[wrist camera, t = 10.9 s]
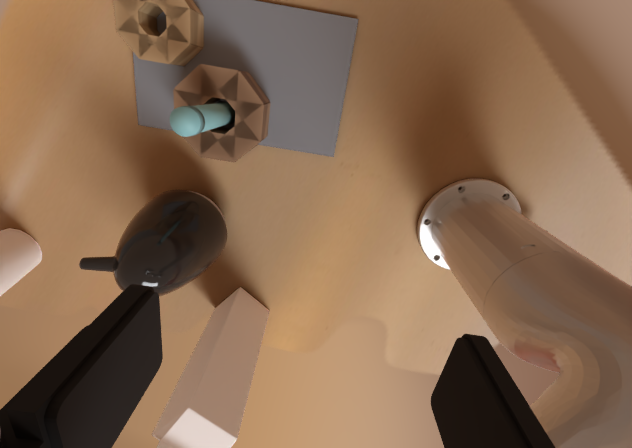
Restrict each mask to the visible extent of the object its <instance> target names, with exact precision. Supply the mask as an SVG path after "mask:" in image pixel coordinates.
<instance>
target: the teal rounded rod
mask: <svg viewBox="0 0 632 448" xmlns="http://www.w3.org/2000/svg"><path fill="white" fill-rule="evenodd" d="M233 122H235V110H234V109H233V108H232V107H231V105H230V104H229V103H228V102H224V103H214V104H205V105H196V106H181V107H178V108H176V109H174V110H173V111H172V112H171V114H170V125H171V127H172V129H173V130H174V131H175V132H176V133H177V134H178V135H180V136H183V137H188V136H194V135H197V134H199V133H201V132H204V131H208V130H211V129H214V128H217V127H220V126H223V125H227V124H230V123H233Z"/></svg>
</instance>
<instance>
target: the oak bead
mask: <svg viewBox="0 0 632 448" xmlns="http://www.w3.org/2000/svg"><path fill="white" fill-rule="evenodd" d="M113 5H114V16H115V27H116V32H117V33H118V34H119V35H120V37H121V38H122V39H123V40H124V41H125V42H126V44H127V45H128V46H129V47H130V48H131V50H132V51H133V52H134V53H135V54H136V56H137V57H138V58H139V59H142V60H148V61H154V62H160V63H165V64H172V65H179V66H185V65H186V64H187V63H188V62H189V61H190V60H191V59H193V58H194V57H195V56H196V55H197V54H198V53H199V52H200V51H201V50H202V49H203V47H204V16H203V14H202V12H201V11H200V10H199V8H198V7H197V6H196V4H195V3H194V2H193V0H113ZM162 12H164V13H165V14H166V24H167V29H166V30H165V31H164V32H163V33H162V34H160V33H159V32H158V30H157V17H158V16H159V15H160V14H161V13H162Z"/></svg>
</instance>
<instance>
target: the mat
mask: <svg viewBox="0 0 632 448" xmlns="http://www.w3.org/2000/svg"><path fill="white" fill-rule="evenodd" d="M193 2H194V3H195V4H196V6H197V7H198V8H199V10H200V11H201V12H202V14H203V16H204V47H203V49H202V50H201V51H200V52H199V53H198V54H197V55H196V56H195V57H194V58H193V59H191V60H190V61H189V62H188V63H187V64H186V65H185V66H179V65H172V64H165V63H160V62H154V61H148V60H142V59H139V58H138V57H137V56H136V54H135V53H134V52H133V60H134V74H135V87H136V101H137V115H138V125H142V126H148V127H154V128H160V129H166V130H173V129H172V127H171V125H170V114H171V112H172V111H173V110H174V93H173V89H174V88H175V87H176V86H177V85H178V84H179V83H180V82H181V81H182V80H183V79H184V78H186V77H187V76H188V75H189V74H190V73H191V72H192V71H193V70H194V69H195V68H196V67H197V66H198V65H199V64H205V65H210V66H216V67H222V68H228V69H234V70H239V71H245V72H248V73H250V75H251V76H252V77H253V79H254V80H255V81H256V83H257V84H258V86H259V87H260V88H261V90H262V91H263V92H264V94H265V95H266V97H267V98H268V99H269V101H270V102H269V103H270V114H269V125H268V136H267V137H266V138H265V139H264V140H262V141H261V142H260V143H259V144H258V145H264V146H270V147H276V148H282V149H288V150H294V151H301V152H307V153H313V154H319V155H325V156H331V157H334V152H335V147H336V141H337V136H338V130H339V125H340V119H341V113H342V108H343V102H344V97H345V91H346V86H347V80H348V74H349V69H350V63H351V58H352V52H353V47H354V41H355V36H356V30H357V24H358V19H355V18H350V17H344V16H339V15H333V14H327V13H322V12H316V11H311V10H305V9H300V8H294V7H288V6H283V5H277V4H272V3H266V2H261V1H255V0H193ZM166 29H167V24H166V14H165V13H164V12H162V13H161V14H160V15H159V16H158V17H157V30H158V32H159V33H160V34H162V33H163V32H164V31H165V30H166ZM224 102H228V101H227V100H226V99H220V100H219V101H217V102H216V103H224ZM234 126H235V122H233V123H230V124H227V125H223V126H222V127H224V128H230V129H232V128H233V127H234ZM173 131H174V130H173Z"/></svg>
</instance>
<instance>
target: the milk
mask: <svg viewBox="0 0 632 448" xmlns="http://www.w3.org/2000/svg"><path fill="white" fill-rule="evenodd" d="M268 315H269V310H268V309H267V308H266V307H264V306H263V305H262V304H261V303H260V302H258V301H257V300H256V299H255V298H254V297H252V296H251V295H250V294H249V293H247V292H246V291H245V290H244V289H243V288H241V287H239V288H238V289H237V290H236V291H235V292H234V293H232V294H231V295H230V296H229V297H228V298H227V299H225V300H224V301H223V302H222V303H221V304H219V305H218V306H217V307H216V308H215V309H214V311H213V313H212V315H211V317H210V319H209V321H208V323H207V325H206V327H205V329H204V331H203V333H202V335H201V337H200V339H199V341H198V343H197V345H196V347H195V349H194V351H193V353H192V355H191V357H190V359H189V361H188V363H187V365H186V367H185V369H184V371H183V373H182V375H181V377H180V379H179V381H178V383H177V385H176V387H175V389H174V391H173V393H172V395H171V397H170V399H169V401H168V403H167V405H166V407H165V409H164V411H163V413H162V415H161V417H160V419H159V421H158V423H157V425H156V427H155V429H154V431H153V433H152V436H154V437H155V438H157V439H158V440H160V442H159V444H158V446H157V448H231V447H232V445H233V444H234V443H235V441H236V440H237V438H238V434H239V430H240V426H241V422H242V418H243V414H244V410H245V406H246V402H247V398H248V394H249V390H250V386H251V382H252V378H253V374H254V371H255V367H256V363H257V359H258V355H259V351H260V347H261V343H262V339H263V335H264V331H265V327H266V323H267V319H268Z"/></svg>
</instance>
